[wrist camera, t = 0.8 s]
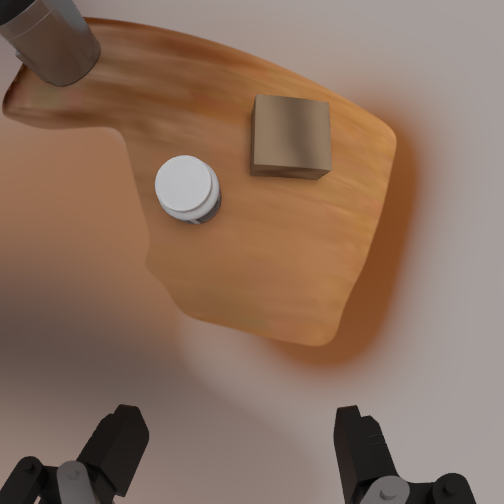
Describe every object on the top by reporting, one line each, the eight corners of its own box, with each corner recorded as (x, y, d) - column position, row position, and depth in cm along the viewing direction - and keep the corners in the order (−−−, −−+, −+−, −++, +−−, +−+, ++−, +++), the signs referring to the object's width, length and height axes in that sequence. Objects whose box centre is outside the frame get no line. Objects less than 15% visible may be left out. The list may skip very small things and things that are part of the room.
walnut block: (249, 175, 33) (253, 164, 28) (252, 113, 32) (256, 94, 27) (317, 179, 33) (331, 170, 28) (315, 119, 33) (328, 102, 28)
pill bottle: (216, 170, 32) (212, 142, 22) (226, 218, 33) (225, 209, 23) (167, 181, 32) (144, 158, 22) (176, 229, 32) (155, 224, 22)
